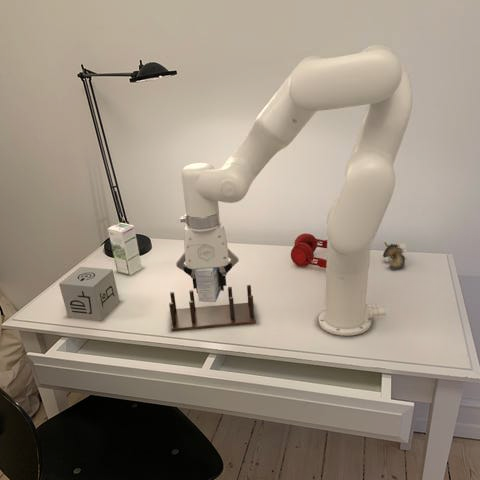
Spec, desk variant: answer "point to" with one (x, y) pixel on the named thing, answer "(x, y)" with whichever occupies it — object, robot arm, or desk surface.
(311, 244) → the headphones
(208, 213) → the robot arm
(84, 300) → the icon cube
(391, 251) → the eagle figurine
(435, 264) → the desk surface
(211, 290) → the medicine box
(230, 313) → the plate rack
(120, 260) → the syrup box
